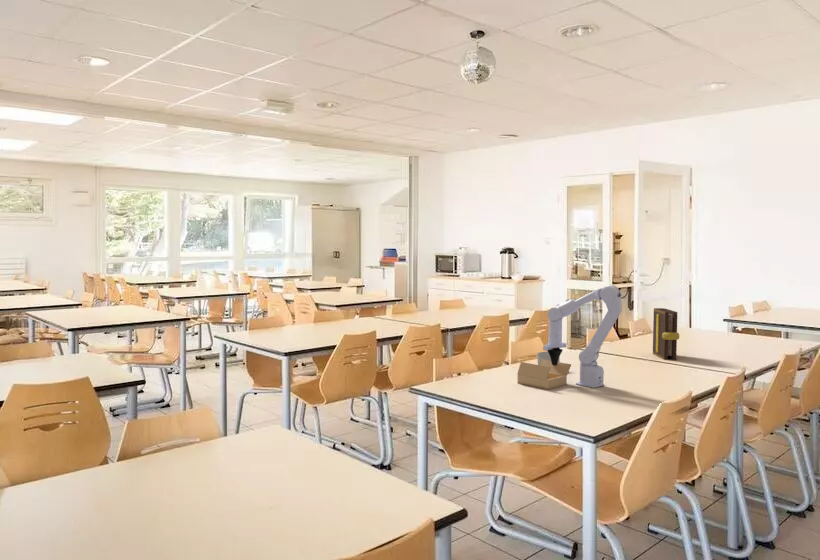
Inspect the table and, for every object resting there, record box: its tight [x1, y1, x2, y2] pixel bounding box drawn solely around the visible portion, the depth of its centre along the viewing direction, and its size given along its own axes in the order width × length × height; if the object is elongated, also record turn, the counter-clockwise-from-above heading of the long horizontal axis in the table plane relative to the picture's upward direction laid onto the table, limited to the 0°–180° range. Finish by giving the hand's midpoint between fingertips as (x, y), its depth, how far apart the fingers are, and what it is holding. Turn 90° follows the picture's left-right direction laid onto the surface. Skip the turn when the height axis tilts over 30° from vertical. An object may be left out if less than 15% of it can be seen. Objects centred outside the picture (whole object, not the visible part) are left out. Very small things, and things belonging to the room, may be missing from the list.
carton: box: [517, 372, 568, 391], centre depth 272 cm, size 16×13×4 cm
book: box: [652, 307, 680, 361], centre depth 336 cm, size 22×8×25 cm, turn 178°
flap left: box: [516, 361, 550, 380], centre depth 268 cm, size 15×6×1 cm
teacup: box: [536, 351, 561, 365], centre depth 306 cm, size 14×11×8 cm
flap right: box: [540, 359, 572, 377], centre depth 278 cm, size 15×6×1 cm
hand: (554, 365), depth 278 cm, fingers closed, pressing on flap right
